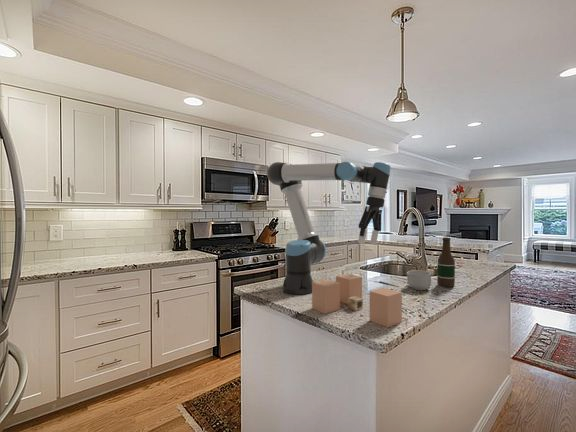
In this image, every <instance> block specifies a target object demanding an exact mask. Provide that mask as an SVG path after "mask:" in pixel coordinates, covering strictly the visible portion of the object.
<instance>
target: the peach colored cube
mask: <svg viewBox="0 0 576 432" xmlns="http://www.w3.org/2000/svg"><path fill="white" fill-rule="evenodd" d="M311 309H314V310H315V311H317V312H321V313H323V314H329V313H332V312H336V311H340V309H341V302H340V283H338V282H336V281H333V280H330V279H322V280H317V281H313V282H312V293H311Z"/></svg>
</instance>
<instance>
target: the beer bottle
mask: <svg viewBox="0 0 576 432" xmlns="http://www.w3.org/2000/svg"><path fill="white" fill-rule="evenodd" d="M441 241H442V246H441V254H439V256H438V258H437V266H436V267H437V270H436V271H437V272H436V273H437V274H436V275H437V279H436V280H437V286H439V287H440V288H447V289H448V288H454V287H455V283H456V282H455V280H456V272H455V271H456V261H455V258H454V256H453V254H452V251H451V238H450V237H449V236H448V237H445V236H444V237H442V238H441Z"/></svg>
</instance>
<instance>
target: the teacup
mask: <svg viewBox="0 0 576 432" xmlns="http://www.w3.org/2000/svg"><path fill="white" fill-rule="evenodd" d="M406 279H407V285H408V286H409V287H410V288H411V289H413V290H415V291H426V290H428V289H429V288H430V287H431V284H432V273H431V272H430V271H428V270H421V269H420V270H417V269H411V270H408V271H407V272H406Z"/></svg>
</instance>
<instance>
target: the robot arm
mask: <svg viewBox="0 0 576 432" xmlns="http://www.w3.org/2000/svg"><path fill="white" fill-rule="evenodd" d="M266 176H267V179H268V181H269V182H270V183H272V185H276V186H279V188H280V192H281V193H282V194H284V196H285V198H286V201H287V206H288V209H289V212H290V215H291V217H292V221H293V223H294V224H293V225H294V228H295V231H296V234H297V239H296V240H291V241H288V242H287V243H286V245H285V270H286V271H285V277H284V281H283V284H282V292H284V293H285V294H289V295H309V294H312V282H314V280H313V277H312V274H311V270H312V269H311V267H312V266H311V265H314V264H318V263H320V262H321V261H322V260H323V259H324V258H325V257H326V254H327V247H326V245H325V243H324V242H323V241H322V240H321V239H320V237H319V234H318V233H316V232H315V230H314V227H313V224H312V221H311V218H310V215H309V211H308V208H307V206H306V202H305V199H304V196H303V193H302V190H301V189H302V187H303V183H302V181H349V182H352V183H363V184H369V188H368V192H367V193H368V194H367V197H366V198H367V199H366V203H365V204H366V205H365V208H364V212H363V213H362V216H361V218H360V221H359V223H358V229H360V231H359V234H358V235H359V236H358V240H357V244H360V245H365V241H366V238H367V232H368V229H367V228H368V226H369V225H370V223H371V221H372V226H373V227H372V228H373V229H372V231H371V237H370V241H369V242H370V243H369V244H371V245H375V246H376V245H377V241H378V238H379V232H381V231H382V212H383V210H382V209H380V208H384V206H385V198H386V194H387V193H388V191H387V189H388V184H389V181H390V180H389V179H390V176H391V165H390V164H389V163H386V162H381V161H380V162H374V163H373V166H365V165H360V164H356V163H353V162H351V161H343V162H329V163H328V162H327V163H303V164H299V163H298V164H296V163H295V164H292V163H289V162H280V161H277V162H273V163H271V164H270V165H269V166H268V168H267V171H266Z"/></svg>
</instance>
